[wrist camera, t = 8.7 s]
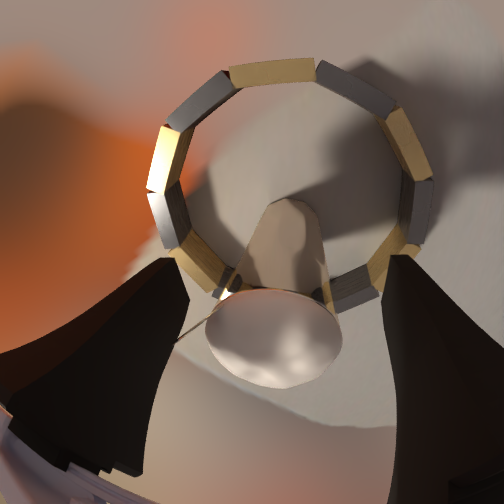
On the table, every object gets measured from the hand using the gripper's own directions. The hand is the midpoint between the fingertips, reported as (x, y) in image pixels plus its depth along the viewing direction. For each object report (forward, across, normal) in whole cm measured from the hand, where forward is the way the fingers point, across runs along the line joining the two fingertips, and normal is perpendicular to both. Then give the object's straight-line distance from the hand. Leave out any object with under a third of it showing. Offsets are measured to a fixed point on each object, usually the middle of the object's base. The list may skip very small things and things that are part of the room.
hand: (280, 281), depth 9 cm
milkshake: (+7, 0, +1) cm, 7 cm away
